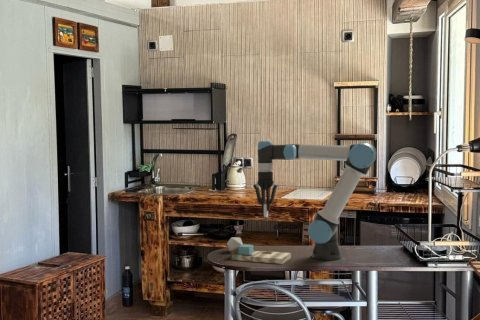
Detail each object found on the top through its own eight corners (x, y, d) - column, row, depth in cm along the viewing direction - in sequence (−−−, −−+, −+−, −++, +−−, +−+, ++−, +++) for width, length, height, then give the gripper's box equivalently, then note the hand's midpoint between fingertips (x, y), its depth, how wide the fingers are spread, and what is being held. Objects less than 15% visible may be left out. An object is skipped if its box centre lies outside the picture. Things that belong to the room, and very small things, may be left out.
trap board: (290, 257, 280) (290, 248, 280) (282, 263, 267) (282, 254, 267) (240, 253, 291) (240, 245, 291) (230, 259, 278) (230, 250, 278)
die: (245, 251, 299) (237, 236, 303) (245, 247, 292) (238, 231, 295) (232, 257, 298) (224, 242, 301) (232, 253, 290) (224, 237, 294)
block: (253, 252, 284) (253, 245, 284) (249, 254, 278) (249, 247, 278) (243, 251, 286) (242, 244, 286) (238, 254, 281) (238, 246, 280)
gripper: (279, 170, 277) (280, 216, 278) (256, 170, 282) (256, 215, 283) (275, 171, 270) (275, 218, 271) (250, 171, 275) (251, 217, 276)
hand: (266, 216), depth 277 cm, fingers closed
